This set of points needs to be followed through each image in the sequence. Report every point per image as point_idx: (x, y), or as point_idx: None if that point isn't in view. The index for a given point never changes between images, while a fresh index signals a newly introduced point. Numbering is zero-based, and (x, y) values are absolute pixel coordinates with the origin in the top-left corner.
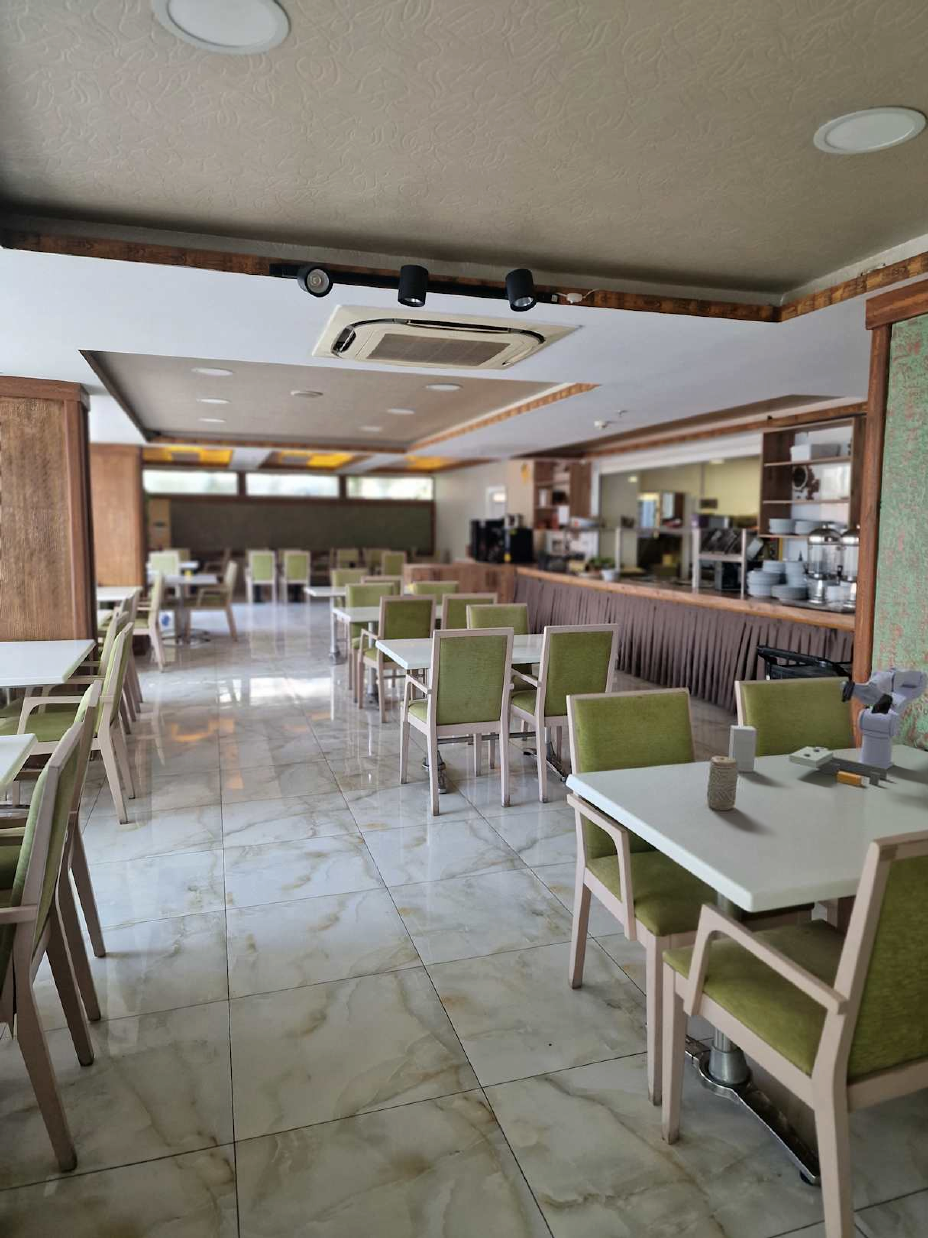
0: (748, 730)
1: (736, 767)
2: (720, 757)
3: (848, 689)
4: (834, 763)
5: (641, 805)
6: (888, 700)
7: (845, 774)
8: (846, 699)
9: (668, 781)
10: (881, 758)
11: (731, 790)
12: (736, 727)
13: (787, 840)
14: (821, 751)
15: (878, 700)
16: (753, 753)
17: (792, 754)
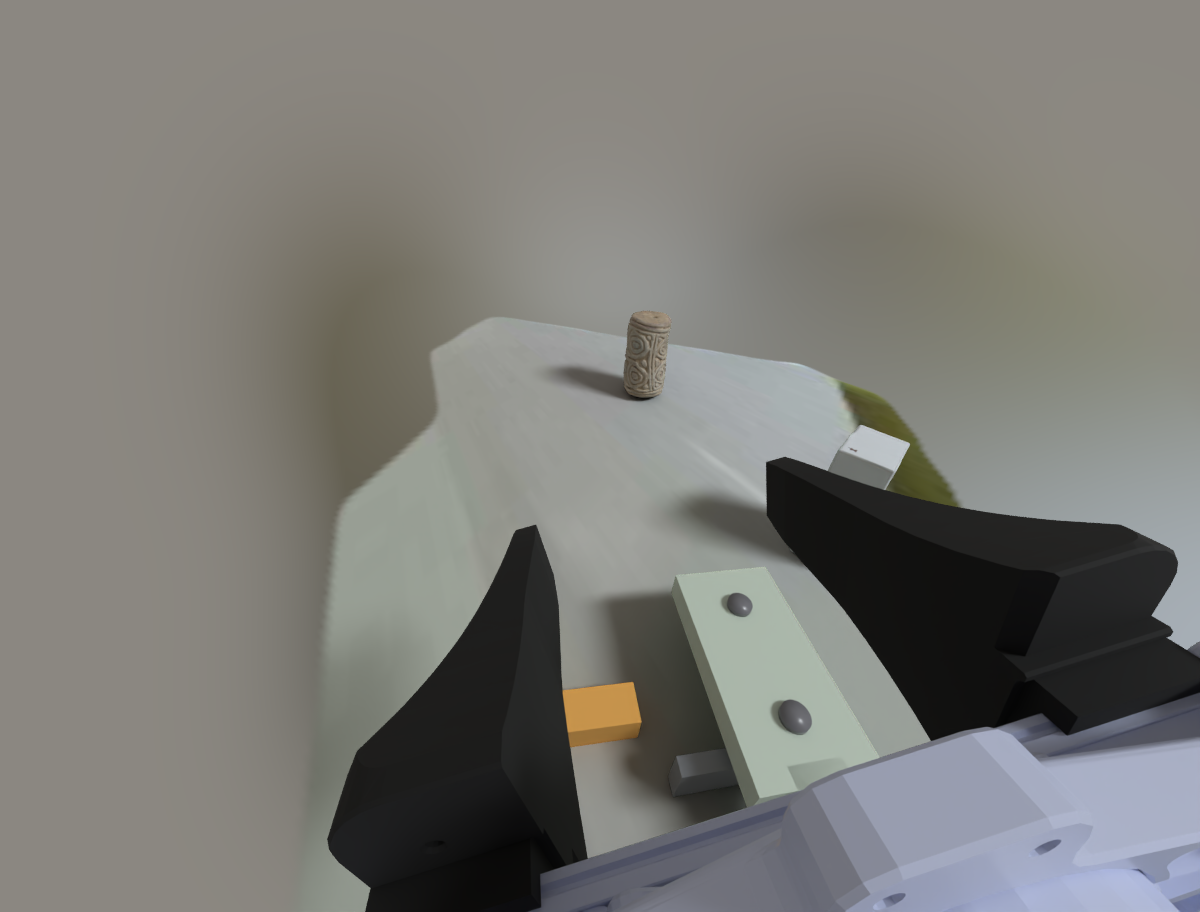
0: (845, 441)
1: (629, 325)
2: (660, 317)
3: (873, 499)
4: (707, 773)
5: (692, 358)
6: (411, 702)
7: (605, 693)
8: (812, 555)
9: (770, 414)
10: None
11: (626, 359)
12: (876, 434)
13: (518, 373)
14: (781, 737)
15: (611, 857)
16: None
17: (767, 577)
